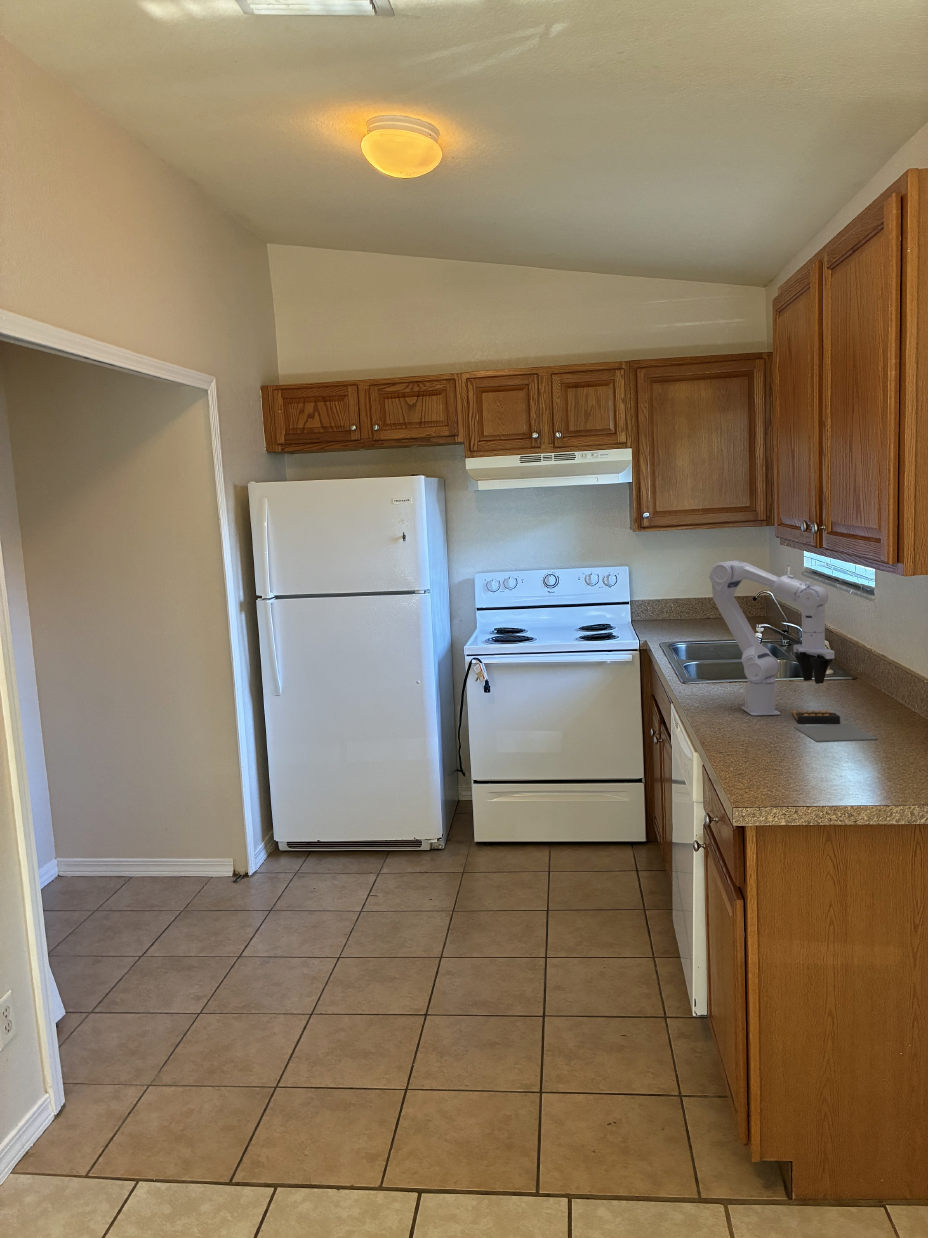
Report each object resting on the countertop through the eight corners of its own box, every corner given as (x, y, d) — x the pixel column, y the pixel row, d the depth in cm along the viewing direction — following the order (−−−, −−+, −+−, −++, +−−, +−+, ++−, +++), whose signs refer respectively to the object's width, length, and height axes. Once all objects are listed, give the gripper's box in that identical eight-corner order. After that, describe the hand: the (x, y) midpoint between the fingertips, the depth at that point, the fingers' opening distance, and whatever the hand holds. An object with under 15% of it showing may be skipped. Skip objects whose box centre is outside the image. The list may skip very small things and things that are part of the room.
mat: (793, 727, 243) (793, 726, 243) (850, 725, 243) (850, 724, 243) (816, 742, 228) (816, 741, 228) (877, 740, 228) (877, 738, 228)
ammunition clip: (840, 723, 245) (829, 714, 256) (840, 716, 244) (829, 707, 256) (797, 723, 246) (789, 714, 258) (798, 716, 246) (789, 707, 258)
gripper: (783, 629, 253) (784, 679, 254) (817, 635, 239) (818, 687, 241) (806, 627, 255) (806, 676, 256) (841, 633, 241) (841, 685, 242)
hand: (813, 681), depth 249 cm, fingers open, 4 cm apart
